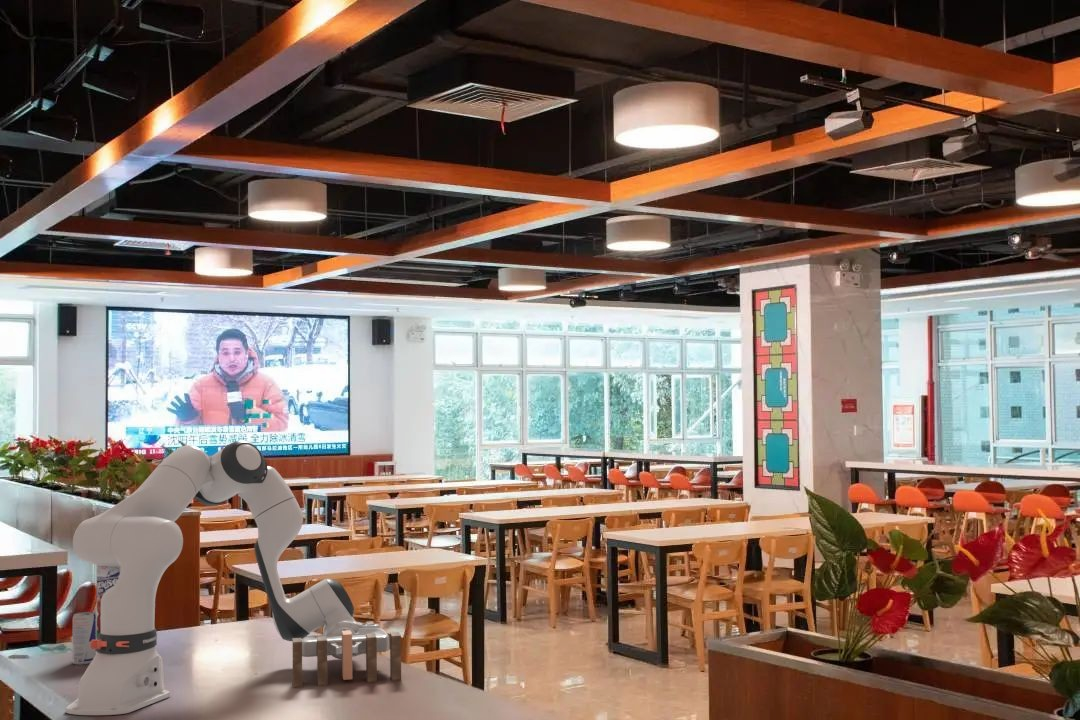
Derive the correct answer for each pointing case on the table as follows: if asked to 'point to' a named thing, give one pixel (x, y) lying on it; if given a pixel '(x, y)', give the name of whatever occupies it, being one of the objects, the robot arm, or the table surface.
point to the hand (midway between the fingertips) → (347, 651)
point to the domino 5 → (395, 656)
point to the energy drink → (83, 637)
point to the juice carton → (104, 586)
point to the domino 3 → (347, 655)
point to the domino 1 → (297, 662)
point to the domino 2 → (322, 660)
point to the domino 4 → (371, 657)
